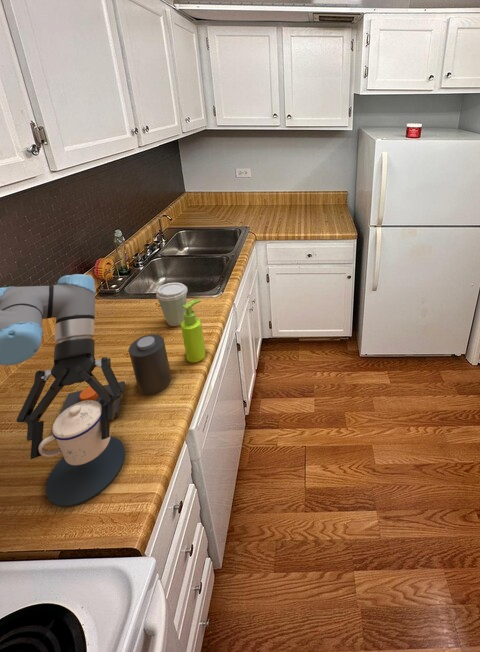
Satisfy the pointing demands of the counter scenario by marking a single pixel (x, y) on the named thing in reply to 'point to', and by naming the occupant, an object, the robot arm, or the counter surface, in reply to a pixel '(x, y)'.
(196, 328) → the soap dispenser
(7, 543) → the counter surface
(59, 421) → the teacup with lid
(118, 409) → the kettle base
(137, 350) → the dark grey cylinder
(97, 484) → the mat
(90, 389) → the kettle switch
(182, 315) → the disposable coffee cup
